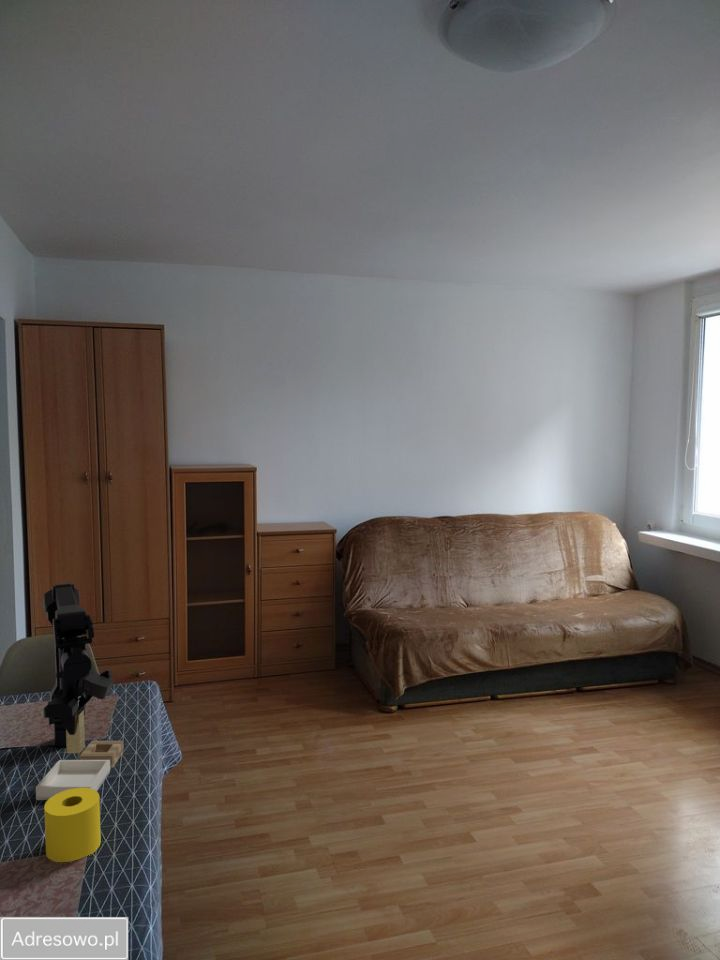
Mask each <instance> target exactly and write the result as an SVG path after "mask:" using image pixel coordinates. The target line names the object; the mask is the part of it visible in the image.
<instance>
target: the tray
mask: <svg viewBox="0 0 720 960" xmlns="http://www.w3.org/2000/svg"><path fill="white" fill-rule="evenodd" d="M110 773H111V768H110V760H79V759H59V760H58V761H56V763H54V765H53V767H51V769H50V770H49V771H48V772H47V773H46V775H45V776H44V777H43V778H42V779H41V780H40V781H39V782H38V784H37V785H36V786H35V800H36V801H48V800H49V799H50V798H51V797H52V796H54V795H56V794H58V793H60V792H62V791H65V790H69V789H74V788H90V789H93V790H95V791H97V792H98V790H99V789H100V788H101V786H102V785H103V783H104V782H105V780H106V779H107V778H108V776H109V775H110Z"/></svg>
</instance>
